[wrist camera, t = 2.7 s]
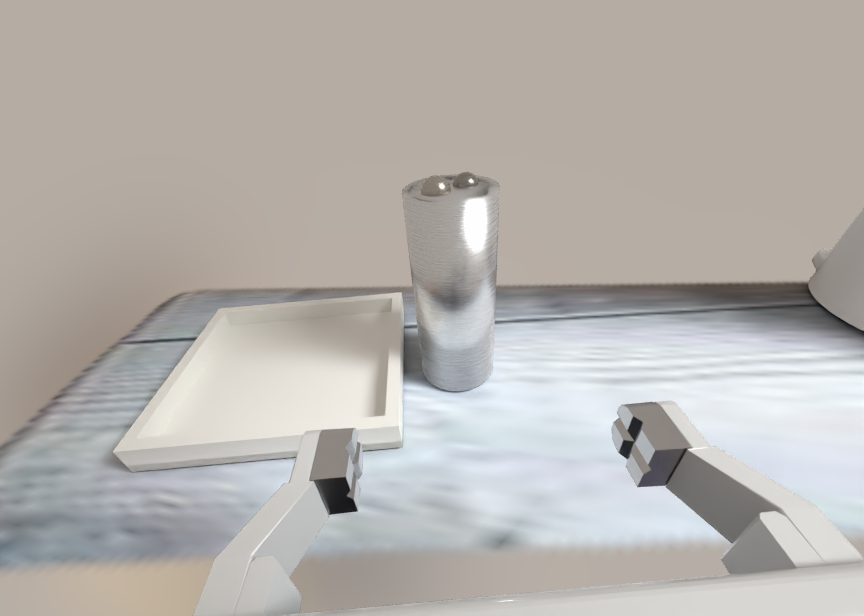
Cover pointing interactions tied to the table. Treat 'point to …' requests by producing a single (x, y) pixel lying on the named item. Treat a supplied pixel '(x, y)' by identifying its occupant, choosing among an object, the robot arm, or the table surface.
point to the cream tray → (277, 384)
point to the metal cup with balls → (454, 275)
